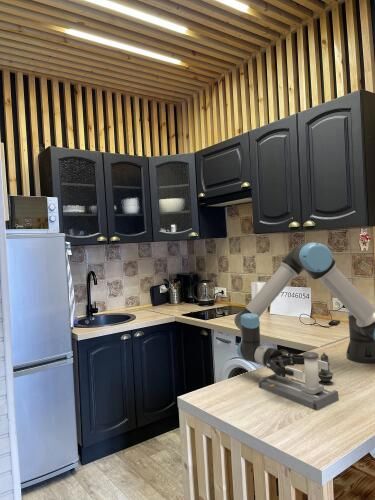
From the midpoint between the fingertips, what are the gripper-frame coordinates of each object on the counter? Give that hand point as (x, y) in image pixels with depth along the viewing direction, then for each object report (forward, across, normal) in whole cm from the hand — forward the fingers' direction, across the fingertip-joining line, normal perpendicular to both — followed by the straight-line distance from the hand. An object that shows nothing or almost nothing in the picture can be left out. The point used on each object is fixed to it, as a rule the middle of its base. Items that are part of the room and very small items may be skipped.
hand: (315, 370), depth 124 cm
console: (-9, 0, -10) cm, 14 cm away
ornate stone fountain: (-8, -16, -11) cm, 21 cm away
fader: (-2, 0, -7) cm, 7 cm away
